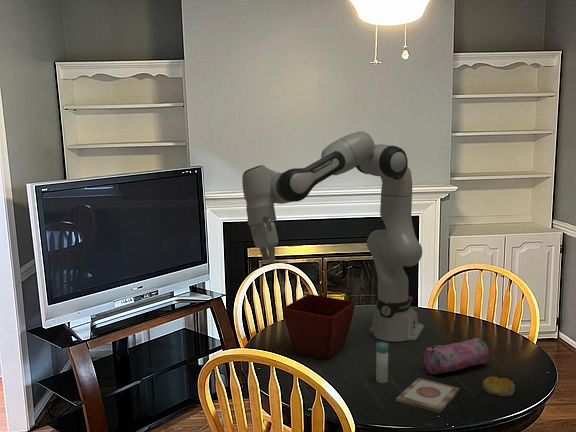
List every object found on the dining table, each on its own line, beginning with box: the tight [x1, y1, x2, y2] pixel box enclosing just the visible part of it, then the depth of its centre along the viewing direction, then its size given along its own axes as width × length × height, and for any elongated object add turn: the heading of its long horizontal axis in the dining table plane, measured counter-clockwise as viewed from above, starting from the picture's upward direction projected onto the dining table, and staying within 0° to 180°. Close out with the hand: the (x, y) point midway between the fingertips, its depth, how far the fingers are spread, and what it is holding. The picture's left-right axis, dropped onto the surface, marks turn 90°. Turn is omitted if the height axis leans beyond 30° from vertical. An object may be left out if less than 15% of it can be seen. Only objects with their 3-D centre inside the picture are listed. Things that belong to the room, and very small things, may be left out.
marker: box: [375, 341, 390, 384], centre depth 188 cm, size 4×4×12 cm
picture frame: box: [395, 377, 461, 414], centre depth 178 cm, size 16×13×1 cm
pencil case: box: [423, 337, 490, 375], centre depth 196 cm, size 21×9×9 cm, turn 112°
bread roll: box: [482, 375, 516, 398], centre depth 181 cm, size 8×9×4 cm
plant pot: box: [282, 293, 356, 360], centre depth 212 cm, size 19×19×17 cm
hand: (269, 260), depth 191 cm, fingers open, 8 cm apart
